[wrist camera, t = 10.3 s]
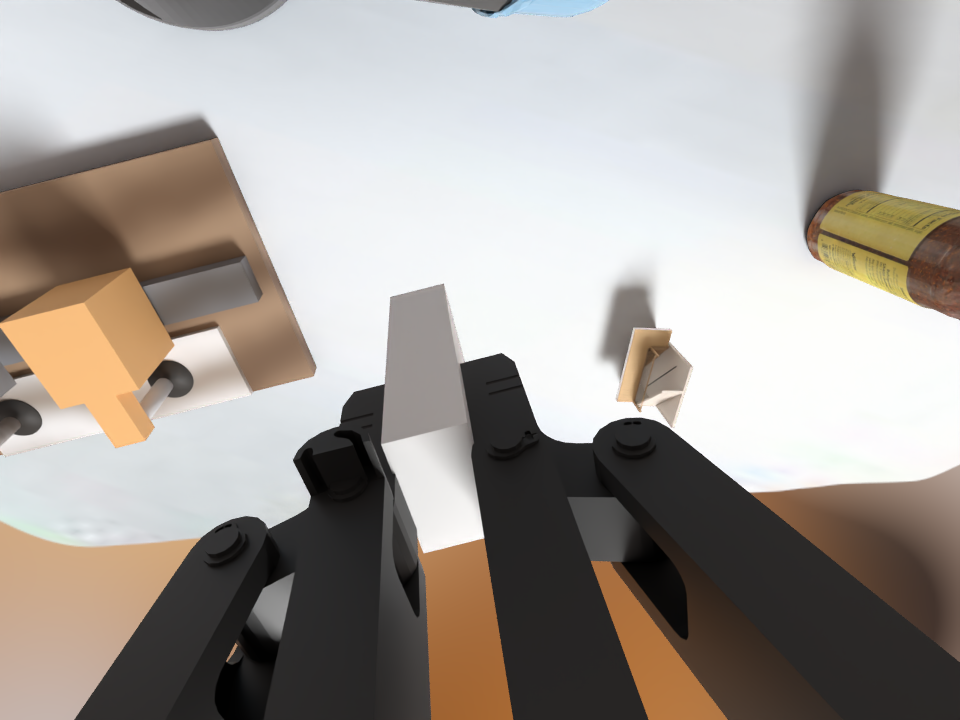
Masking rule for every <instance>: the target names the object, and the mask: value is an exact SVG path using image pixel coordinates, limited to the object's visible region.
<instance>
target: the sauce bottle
mask: <svg viewBox="0 0 960 720" xmlns="http://www.w3.org/2000/svg"><path fill="white" fill-rule="evenodd" d="M807 243H808V246H809V250H810V252H811V254H812V255H813V257H814V258H815V259H817V260H819V261H821V262H823V263H825V264H826V265H827V266H829V267H830V268H832V269H834V270H837V271H839V272H841V273H844V274H846V275H848V276H851V277H853V278H856V279H858V280H860V281H863V282H865V283H867V284H870V285H872V286H875V287H877V288H879V289H882V290H884V291H886V292H889V293H891V294H894V295H896V296H898V297H901V298H903V299H905V300H907V301H910V302H912V303H914V304H917V305H919V306H921V307H925V308H930V309H934V310H937V311H939V312H940V313H943V314H945V315H947V316H949V317H953V318H956V319H959V320H960V210H956V209H952V208H948V207H943V206H939V205H935V204H930V203H925V202H921V201H916V200H912V199H907V198H901V197H897V196H892V195H888V194H884V193H879V192H874V191H862V190H854V191H848V192H845V193H842V194H839V195H836V196H834V197H833V198H831V199H829V200H828V201H826V202H825V203H824V204H823V205H822V207H821V208H820V209H819V210H818V211H817V213H816V215H815V216H814V218H813V220H812V222H811V224H810V225H809V228H808V233H807Z"/></svg>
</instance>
